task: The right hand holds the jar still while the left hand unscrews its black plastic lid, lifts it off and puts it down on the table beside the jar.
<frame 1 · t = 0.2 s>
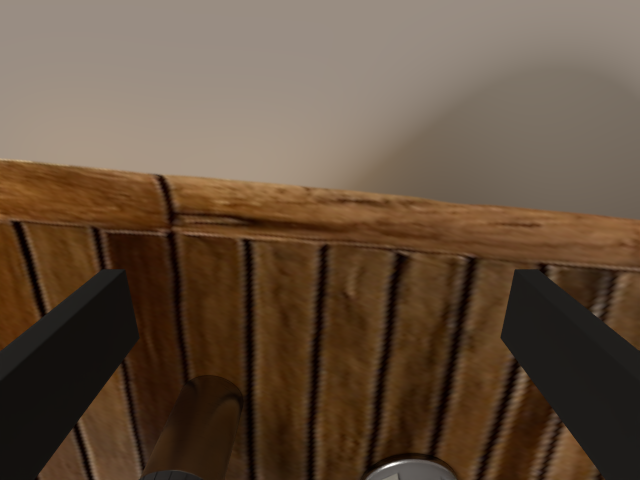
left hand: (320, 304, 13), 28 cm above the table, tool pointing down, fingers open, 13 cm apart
jar: (211, 400, 50), on the table
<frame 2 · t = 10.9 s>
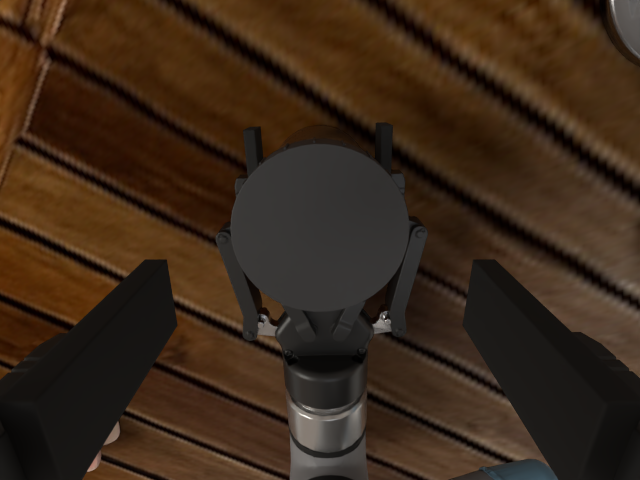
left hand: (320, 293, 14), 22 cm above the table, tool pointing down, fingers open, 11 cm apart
right hand: (317, 126, 26), fingers closed on jar, 8 cm apart
jar: (320, 174, 34), on the table, touching right hand
lid: (319, 232, 19), point 15 cm above the table, screwed on, not yet turned
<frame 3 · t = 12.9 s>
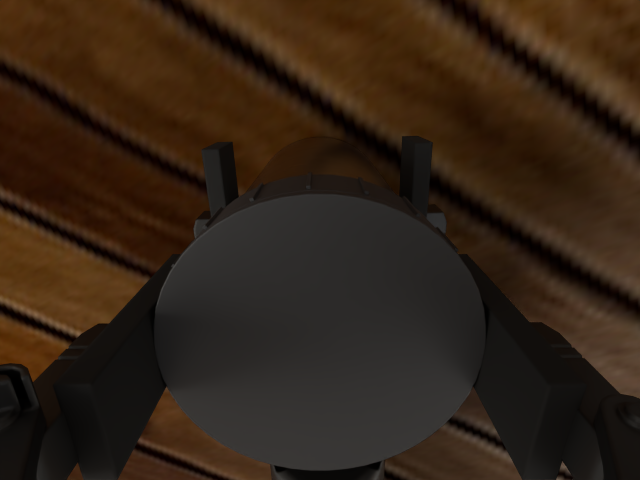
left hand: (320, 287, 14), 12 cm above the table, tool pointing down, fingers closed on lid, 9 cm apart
jar: (320, 201, 25), on the table, touching right hand
lid: (319, 346, 11), point 15 cm above the table, screwed on, not yet turned, touching left hand
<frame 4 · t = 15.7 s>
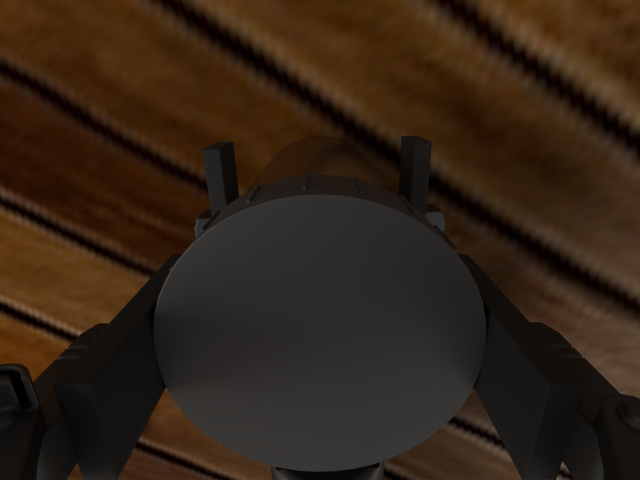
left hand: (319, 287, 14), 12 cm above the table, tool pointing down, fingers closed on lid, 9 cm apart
jar: (319, 201, 25), on the table, touching right hand
lid: (319, 347, 11), point 16 cm above the table, turned 55° so far, risen 0.2 cm, still on its thread, touching left hand
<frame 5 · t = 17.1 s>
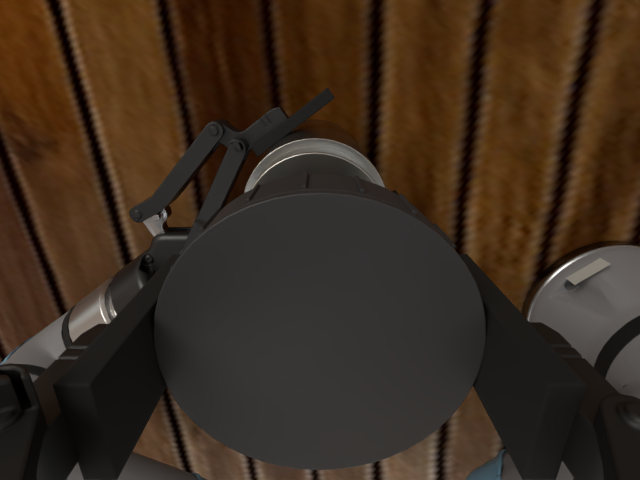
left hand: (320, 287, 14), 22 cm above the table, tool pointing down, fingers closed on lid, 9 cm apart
right hand: (367, 148, 27), fingers closed on jar, 8 cm apart
jar: (315, 168, 34), on the table, touching right hand
lid: (319, 346, 11), point 25 cm above the table, off its thread, touching left hand
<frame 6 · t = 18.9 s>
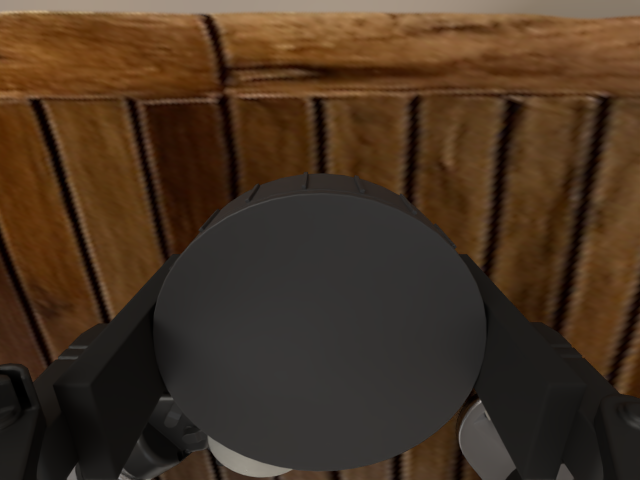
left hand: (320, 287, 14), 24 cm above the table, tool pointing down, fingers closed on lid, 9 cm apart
jar: (279, 323, 42), on the table, touching right hand
lid: (319, 347, 11), point 27 cm above the table, off its thread, touching left hand
when the left hand's fingers open (0 cm above the table, at t = 22.4 s): lid drops 2 cm, point 2 cm above the table.
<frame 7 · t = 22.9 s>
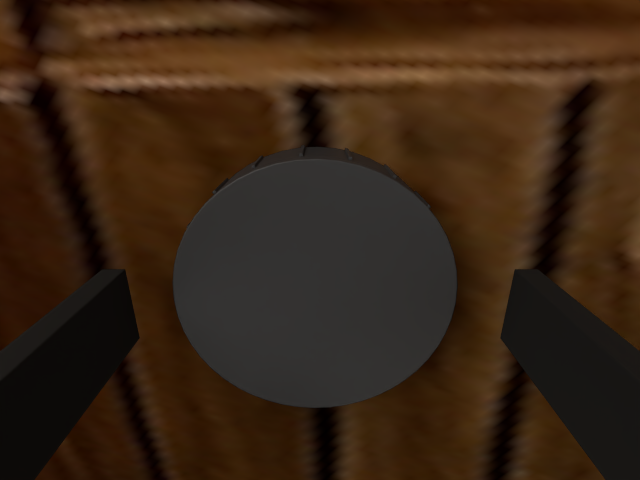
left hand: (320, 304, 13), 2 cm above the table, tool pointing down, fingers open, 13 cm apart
lid: (315, 295, 12), point 2 cm above the table, off its thread
when the right hand's fingers open (6 cm above the table, at t = 23.4 s): jar stays where it is, on the table.
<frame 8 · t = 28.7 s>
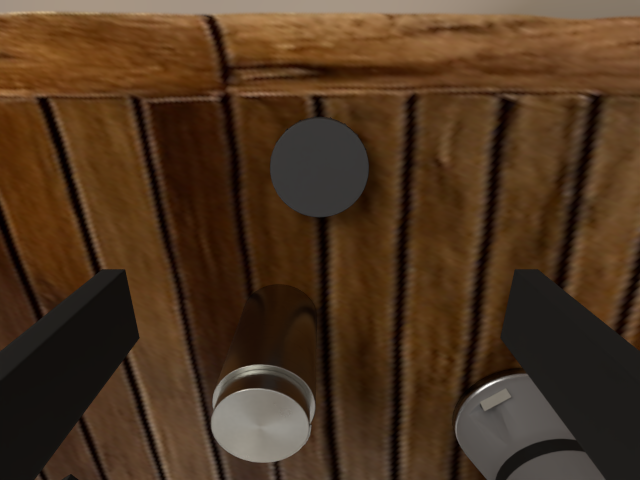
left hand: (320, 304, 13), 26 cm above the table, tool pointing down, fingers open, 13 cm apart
jar: (280, 316, 43), on the table
lid: (319, 169, 35), point 2 cm above the table, off its thread
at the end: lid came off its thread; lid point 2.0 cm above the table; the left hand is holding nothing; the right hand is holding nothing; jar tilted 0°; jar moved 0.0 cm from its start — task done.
